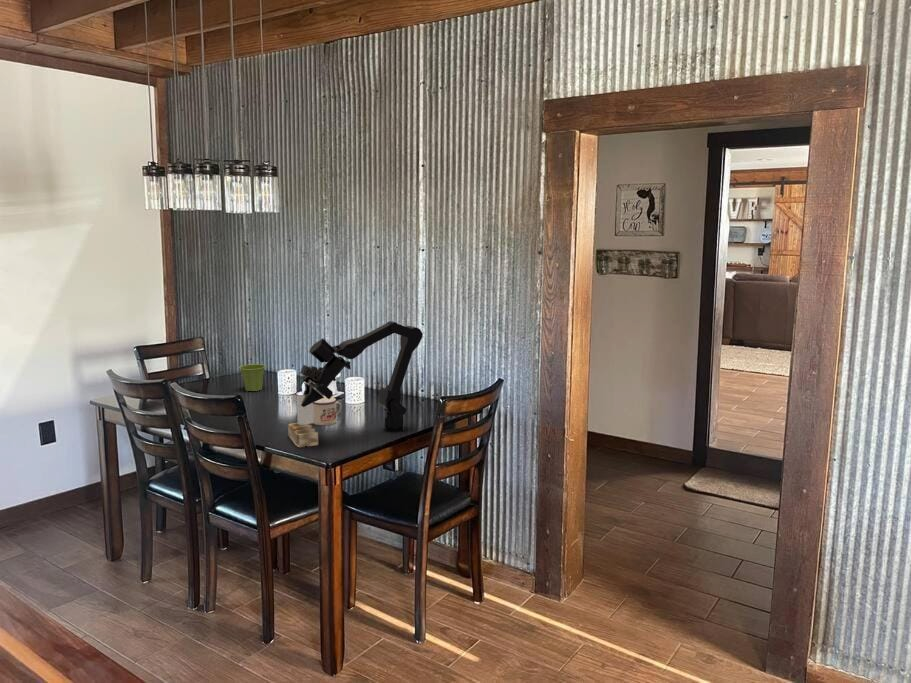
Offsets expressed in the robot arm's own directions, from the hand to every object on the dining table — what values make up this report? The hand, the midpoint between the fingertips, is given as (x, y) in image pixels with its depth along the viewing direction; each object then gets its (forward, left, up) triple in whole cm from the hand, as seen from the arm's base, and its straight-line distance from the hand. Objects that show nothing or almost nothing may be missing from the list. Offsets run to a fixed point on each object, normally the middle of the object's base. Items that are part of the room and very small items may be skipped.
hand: (301, 405), depth 251 cm
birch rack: (0, -3, -13) cm, 14 cm away
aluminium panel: (-1, -1, -7) cm, 7 cm away
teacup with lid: (-6, -26, -14) cm, 30 cm away
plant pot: (+34, -83, -14) cm, 91 cm away
